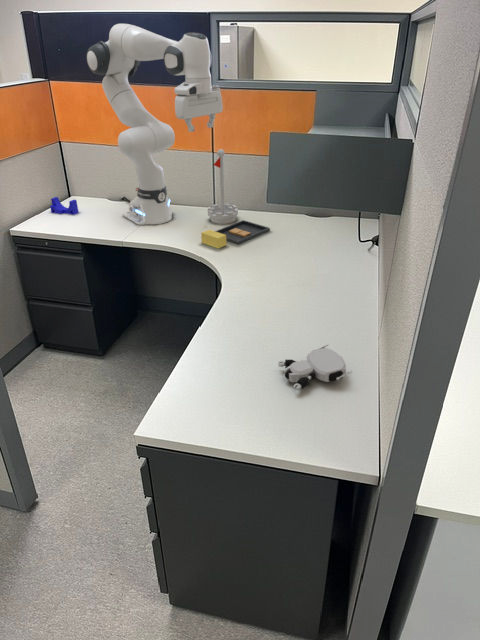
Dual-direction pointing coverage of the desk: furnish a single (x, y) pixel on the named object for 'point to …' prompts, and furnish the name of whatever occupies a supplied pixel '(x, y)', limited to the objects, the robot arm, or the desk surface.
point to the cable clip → (60, 209)
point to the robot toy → (315, 367)
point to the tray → (244, 226)
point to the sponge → (213, 239)
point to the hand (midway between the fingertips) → (201, 129)
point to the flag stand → (222, 200)
